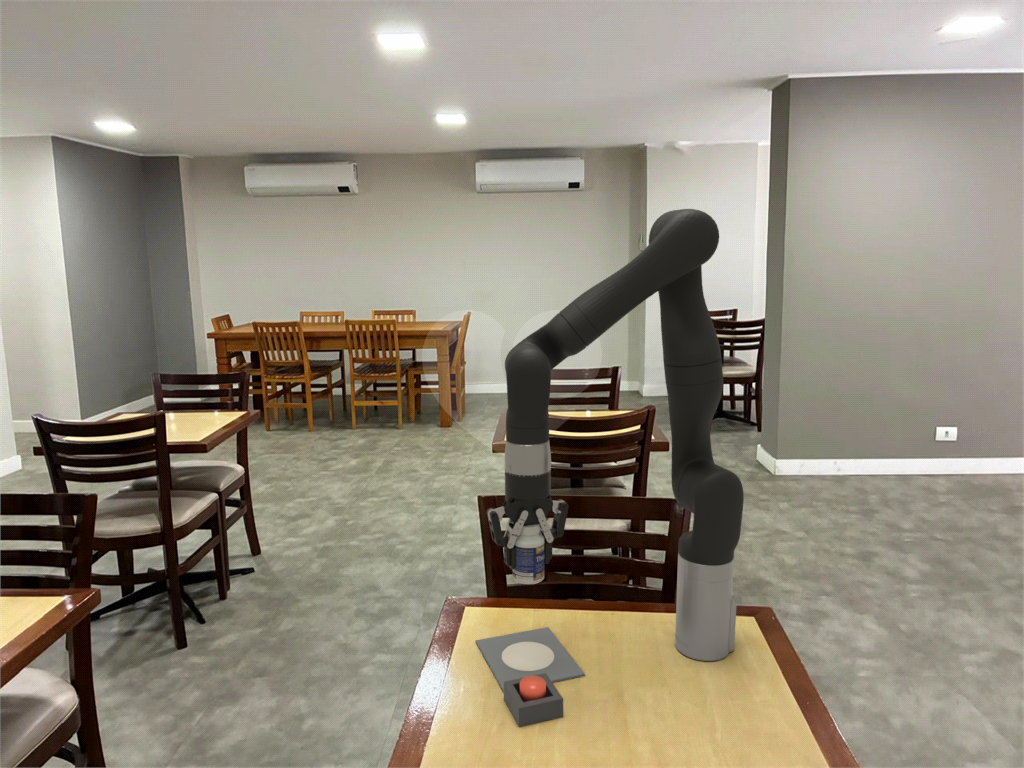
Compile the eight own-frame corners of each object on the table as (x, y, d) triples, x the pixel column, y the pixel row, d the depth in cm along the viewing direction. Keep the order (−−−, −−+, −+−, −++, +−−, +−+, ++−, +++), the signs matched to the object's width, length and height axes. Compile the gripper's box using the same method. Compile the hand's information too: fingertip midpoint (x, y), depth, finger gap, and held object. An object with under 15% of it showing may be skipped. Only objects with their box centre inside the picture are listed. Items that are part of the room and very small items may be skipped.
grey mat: (548, 628, 130) (548, 626, 130) (584, 675, 115) (584, 673, 115) (475, 642, 125) (475, 639, 125) (503, 693, 111) (503, 690, 110)
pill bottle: (541, 586, 115) (541, 530, 113) (509, 584, 116) (509, 527, 114) (546, 572, 120) (546, 518, 118) (515, 570, 121) (515, 516, 119)
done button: (540, 685, 109) (540, 673, 109) (550, 700, 105) (550, 688, 105) (516, 690, 108) (515, 678, 107) (525, 705, 104) (524, 693, 104)
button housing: (545, 690, 111) (545, 672, 111) (563, 716, 105) (563, 698, 104) (503, 699, 109) (503, 681, 109) (518, 726, 102) (518, 708, 102)
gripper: (559, 456, 120) (559, 550, 123) (478, 465, 116) (480, 562, 119) (577, 468, 113) (576, 567, 116) (492, 477, 109) (494, 580, 112)
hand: (528, 564), depth 117 cm, fingers closed on pill bottle, 5 cm apart
